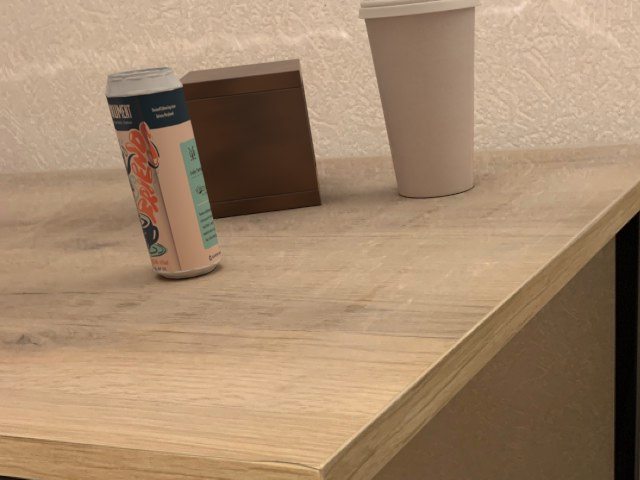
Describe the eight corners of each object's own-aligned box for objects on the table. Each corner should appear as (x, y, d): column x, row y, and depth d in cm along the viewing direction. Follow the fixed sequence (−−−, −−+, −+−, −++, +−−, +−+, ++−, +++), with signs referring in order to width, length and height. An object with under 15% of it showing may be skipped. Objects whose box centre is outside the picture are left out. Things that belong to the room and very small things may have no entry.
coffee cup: (513, 184, 76) (503, -31, 68) (419, 207, 72) (395, -19, 64) (450, 173, 83) (434, -25, 74) (361, 193, 79) (332, -13, 71)
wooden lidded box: (203, 219, 76) (172, 84, 70) (215, 191, 87) (188, 71, 81) (321, 204, 77) (299, 69, 71) (318, 178, 87) (299, 58, 82)
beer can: (150, 270, 64) (96, 74, 57) (216, 257, 65) (172, 64, 58) (159, 285, 60) (103, 78, 53) (230, 271, 61) (184, 67, 54)
